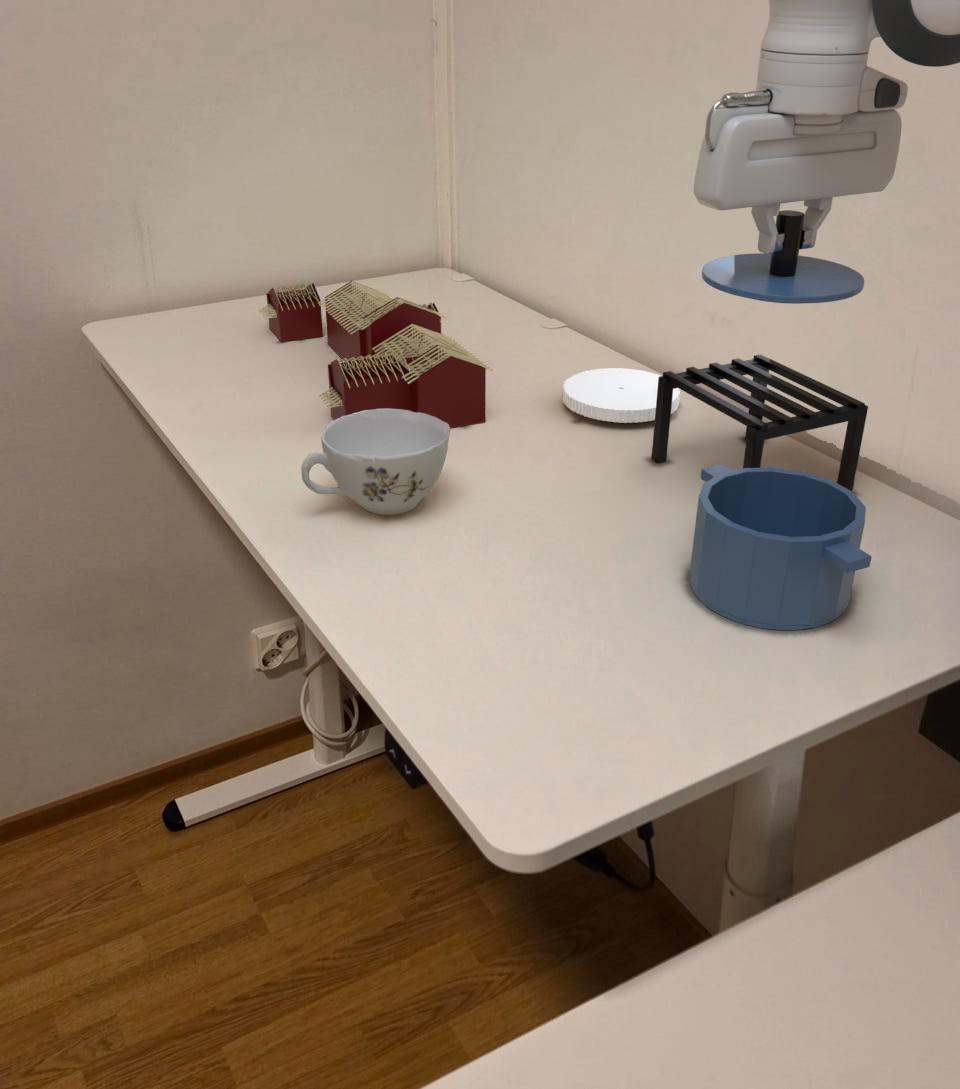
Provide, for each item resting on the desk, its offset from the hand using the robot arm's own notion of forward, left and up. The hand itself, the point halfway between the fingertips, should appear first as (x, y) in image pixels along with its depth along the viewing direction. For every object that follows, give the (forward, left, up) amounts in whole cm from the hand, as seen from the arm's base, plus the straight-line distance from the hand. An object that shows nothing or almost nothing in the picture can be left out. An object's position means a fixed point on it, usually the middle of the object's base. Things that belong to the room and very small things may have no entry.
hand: (786, 249), depth 101 cm
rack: (-3, -4, -25) cm, 26 cm away
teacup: (+35, -15, -25) cm, 46 cm away
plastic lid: (-1, -26, -25) cm, 36 cm away
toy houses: (+22, -52, -25) cm, 62 cm away
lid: (0, 0, -3) cm, 3 cm away
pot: (+10, +15, -25) cm, 31 cm away
